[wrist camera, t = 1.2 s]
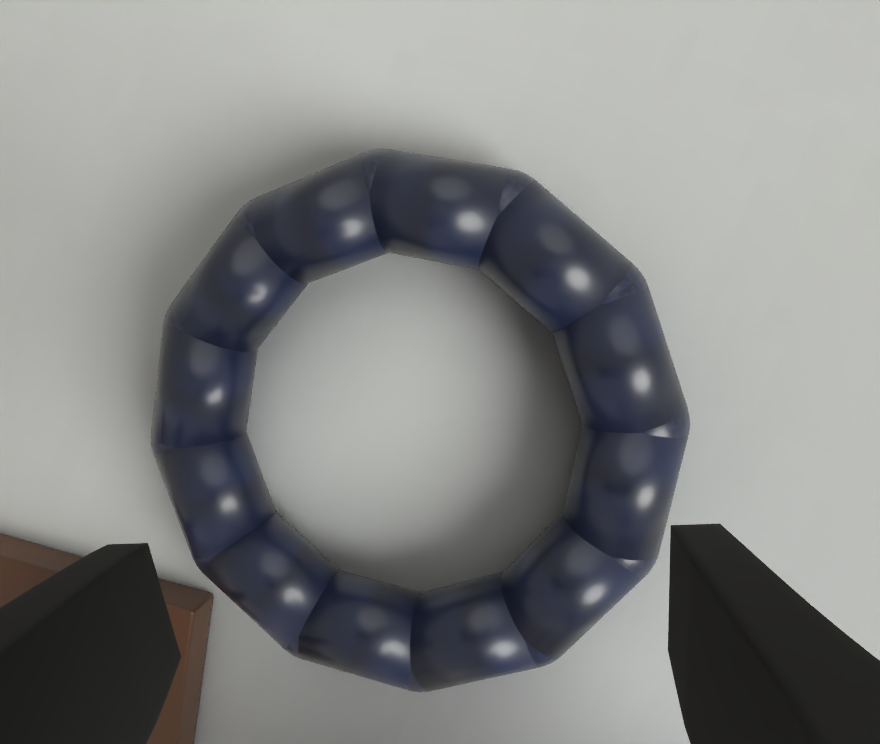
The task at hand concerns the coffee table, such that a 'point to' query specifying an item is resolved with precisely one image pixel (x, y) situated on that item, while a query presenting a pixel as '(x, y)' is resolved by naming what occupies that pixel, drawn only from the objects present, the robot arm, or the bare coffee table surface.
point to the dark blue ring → (533, 287)
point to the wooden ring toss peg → (172, 740)
